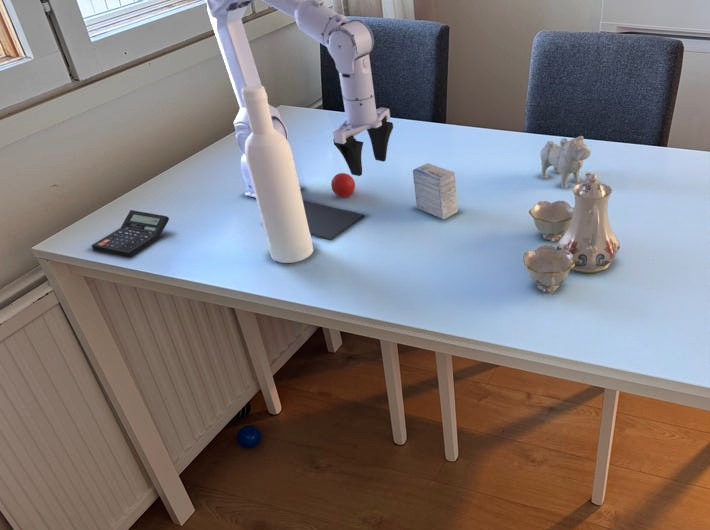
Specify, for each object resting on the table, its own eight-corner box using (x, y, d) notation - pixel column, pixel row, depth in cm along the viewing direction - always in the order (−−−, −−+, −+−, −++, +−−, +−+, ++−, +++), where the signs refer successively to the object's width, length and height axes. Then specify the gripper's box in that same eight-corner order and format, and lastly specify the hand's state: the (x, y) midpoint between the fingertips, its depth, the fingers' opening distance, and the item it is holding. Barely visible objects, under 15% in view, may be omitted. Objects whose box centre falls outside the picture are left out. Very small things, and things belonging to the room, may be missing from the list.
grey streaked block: (458, 212, 135) (456, 172, 130) (442, 220, 133) (439, 179, 127) (431, 202, 139) (428, 162, 134) (416, 209, 137) (411, 169, 131)
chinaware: (524, 231, 131) (515, 149, 121) (610, 221, 129) (608, 138, 119) (528, 313, 109) (517, 222, 99) (631, 303, 107) (631, 209, 97)
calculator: (93, 249, 129) (86, 235, 127) (137, 222, 137) (132, 209, 135) (130, 256, 126) (124, 242, 124) (173, 228, 134) (168, 215, 132)
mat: (268, 224, 134) (267, 222, 134) (303, 202, 142) (303, 200, 141) (330, 240, 128) (330, 238, 128) (364, 216, 135) (364, 214, 135)
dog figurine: (576, 194, 140) (579, 144, 133) (535, 175, 148) (536, 128, 141) (594, 187, 142) (598, 138, 135) (553, 169, 150) (555, 121, 143)
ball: (328, 198, 142) (324, 176, 139) (343, 189, 146) (339, 167, 143) (347, 203, 141) (343, 180, 137) (361, 193, 144) (357, 171, 141)
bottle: (322, 248, 125) (288, 83, 107) (293, 267, 120) (251, 98, 102) (292, 239, 129) (253, 77, 110) (262, 257, 124) (216, 91, 105)
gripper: (350, 111, 115) (362, 185, 123) (399, 87, 124) (407, 157, 133) (319, 105, 118) (332, 178, 126) (369, 82, 127) (378, 151, 136)
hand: (368, 167), depth 130 cm, fingers open, 7 cm apart
